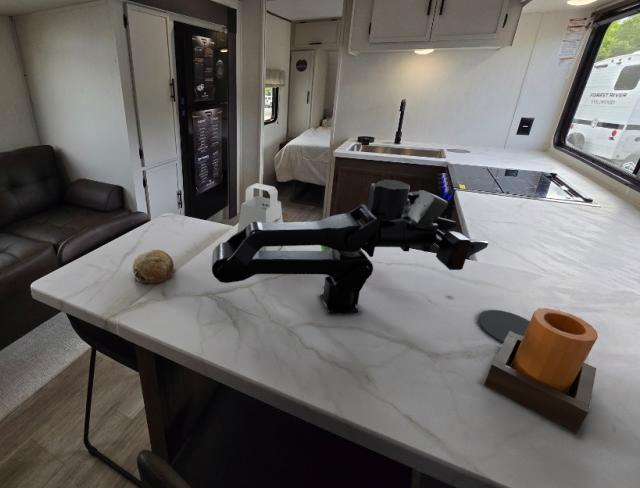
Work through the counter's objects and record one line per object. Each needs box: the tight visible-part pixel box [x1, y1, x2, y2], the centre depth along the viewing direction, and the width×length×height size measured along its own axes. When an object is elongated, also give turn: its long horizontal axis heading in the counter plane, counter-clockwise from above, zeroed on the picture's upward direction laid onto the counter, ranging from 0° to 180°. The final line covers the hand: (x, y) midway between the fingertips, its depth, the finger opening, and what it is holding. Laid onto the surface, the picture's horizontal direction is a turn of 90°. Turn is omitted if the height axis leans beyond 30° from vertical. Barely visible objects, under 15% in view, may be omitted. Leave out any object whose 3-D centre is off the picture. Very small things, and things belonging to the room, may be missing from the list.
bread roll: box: [132, 249, 174, 284], centre depth 85 cm, size 10×10×8 cm
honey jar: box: [509, 307, 599, 395], centre depth 52 cm, size 7×7×13 cm
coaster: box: [477, 309, 530, 344], centre depth 67 cm, size 11×11×1 cm
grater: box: [236, 182, 287, 251], centre depth 90 cm, size 10×10×20 cm
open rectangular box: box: [483, 331, 597, 435], centre depth 54 cm, size 11×11×4 cm
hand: (471, 233), depth 69 cm, fingers open, 9 cm apart
